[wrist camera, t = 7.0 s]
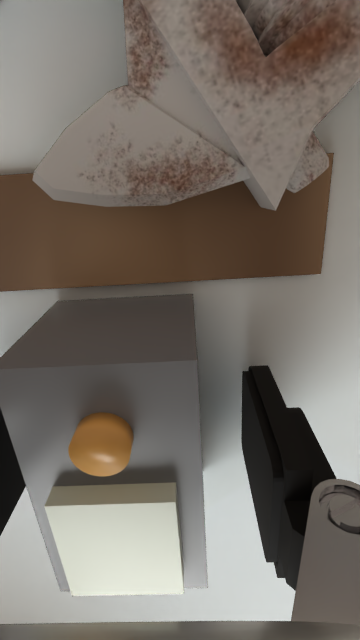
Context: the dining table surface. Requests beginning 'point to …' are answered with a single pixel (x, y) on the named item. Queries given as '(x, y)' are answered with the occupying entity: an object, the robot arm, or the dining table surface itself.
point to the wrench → (211, 103)
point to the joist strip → (158, 237)
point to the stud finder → (112, 442)
